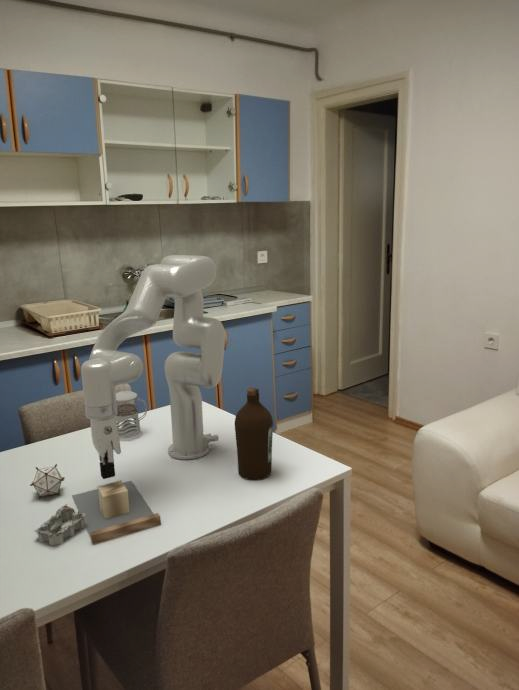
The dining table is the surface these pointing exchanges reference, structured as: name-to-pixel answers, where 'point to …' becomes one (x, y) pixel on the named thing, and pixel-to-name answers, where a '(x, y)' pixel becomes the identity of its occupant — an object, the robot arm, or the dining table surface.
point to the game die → (47, 481)
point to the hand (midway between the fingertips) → (108, 476)
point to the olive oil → (254, 438)
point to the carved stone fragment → (53, 526)
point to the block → (113, 499)
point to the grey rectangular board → (97, 521)
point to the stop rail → (125, 528)
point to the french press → (128, 417)
